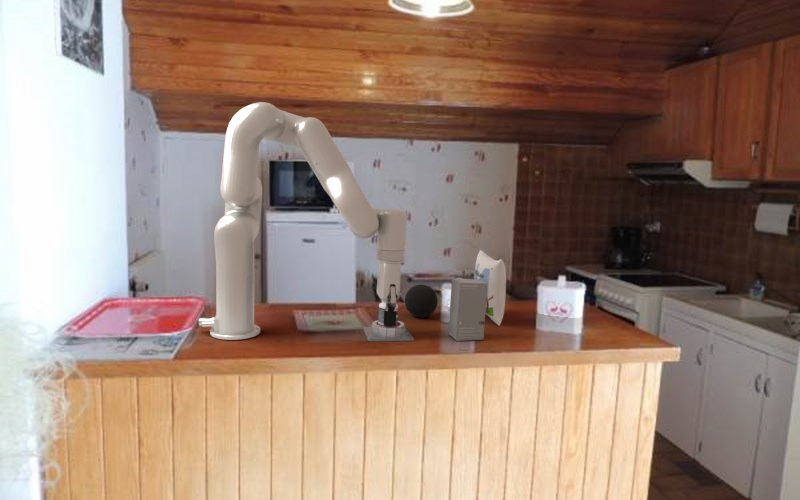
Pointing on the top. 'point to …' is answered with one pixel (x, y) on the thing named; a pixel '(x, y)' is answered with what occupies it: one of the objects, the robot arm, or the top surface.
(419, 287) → the speaker
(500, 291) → the pouch
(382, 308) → the pill bottle
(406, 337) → the plate
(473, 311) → the skincare box
